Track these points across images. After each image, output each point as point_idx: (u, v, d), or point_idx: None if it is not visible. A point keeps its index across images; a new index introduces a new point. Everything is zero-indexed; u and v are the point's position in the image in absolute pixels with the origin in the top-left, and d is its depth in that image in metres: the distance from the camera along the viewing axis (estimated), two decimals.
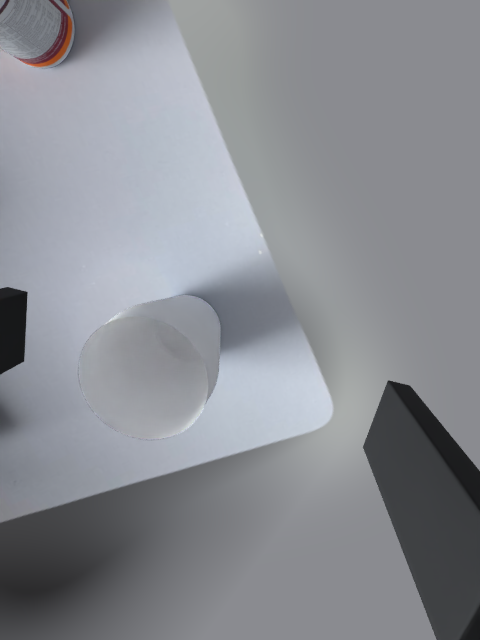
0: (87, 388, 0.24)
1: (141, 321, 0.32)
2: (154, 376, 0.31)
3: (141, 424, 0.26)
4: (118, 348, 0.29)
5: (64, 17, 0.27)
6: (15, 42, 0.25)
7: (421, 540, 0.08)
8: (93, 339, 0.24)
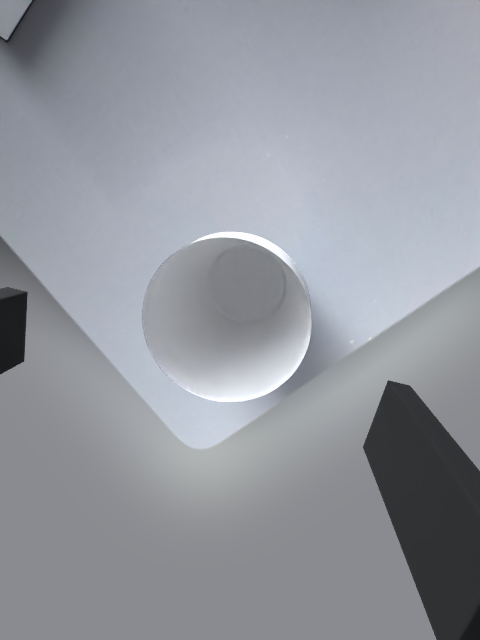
0: (183, 248, 0.18)
1: (248, 241, 0.26)
2: (189, 278, 0.25)
3: (152, 316, 0.20)
4: (220, 238, 0.22)
5: None
6: None
7: (421, 541, 0.08)
8: (250, 237, 0.18)
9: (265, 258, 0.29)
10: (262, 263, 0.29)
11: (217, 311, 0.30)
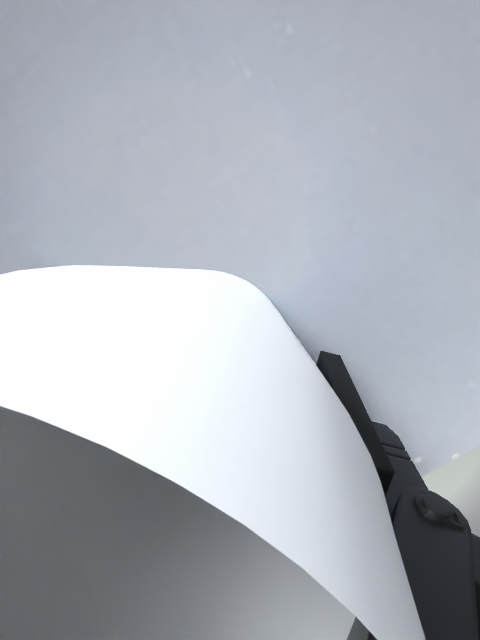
0: None
1: None
2: None
3: None
4: None
5: None
6: None
7: None
8: (101, 316, 0.03)
9: None
10: None
11: None
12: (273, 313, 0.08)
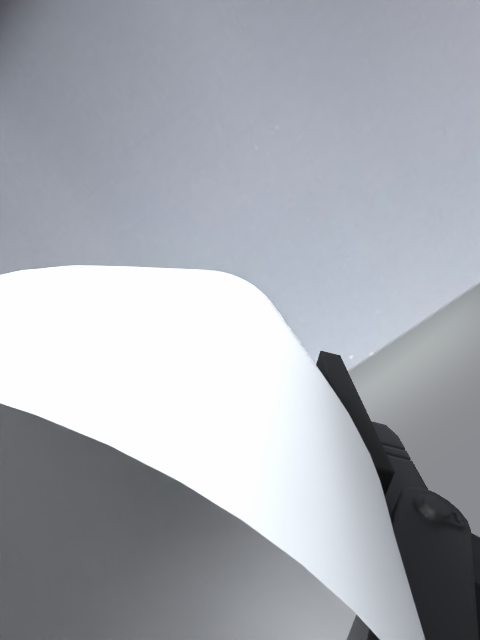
0: None
1: None
2: None
3: None
4: None
5: None
6: None
7: None
8: (102, 316, 0.03)
9: None
10: None
11: None
12: (273, 313, 0.08)
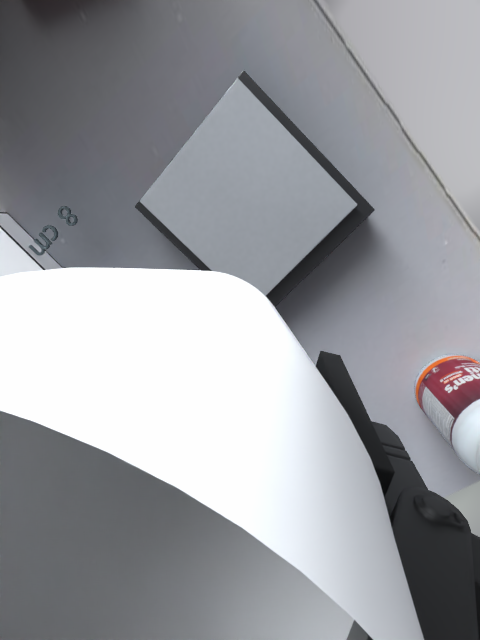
0: None
1: None
2: None
3: None
4: None
5: None
6: (436, 427, 0.27)
7: None
8: (101, 319, 0.03)
9: None
10: None
11: None
12: (273, 314, 0.08)
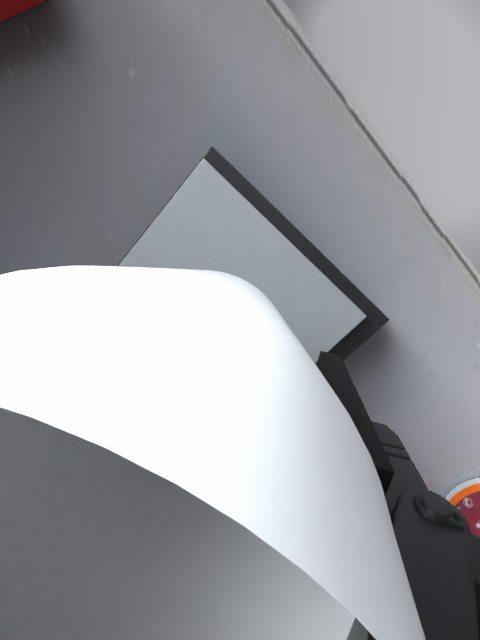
0: None
1: None
2: None
3: None
4: None
5: None
6: None
7: None
8: (101, 317, 0.03)
9: None
10: None
11: None
12: (273, 313, 0.08)
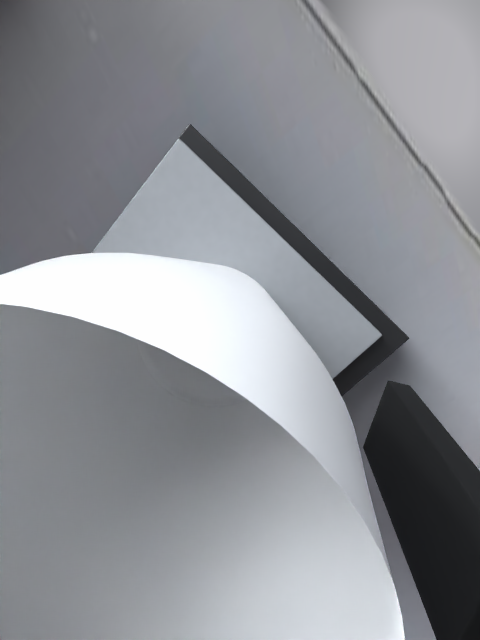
0: None
1: None
2: (76, 343, 0.12)
3: None
4: None
5: None
6: None
7: (421, 540, 0.08)
8: (141, 284, 0.04)
9: None
10: None
11: (158, 383, 0.16)
12: (268, 297, 0.09)
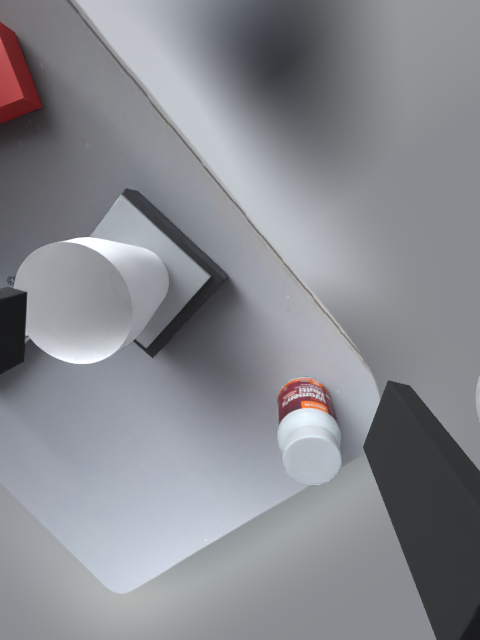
0: (41, 249, 0.24)
1: None
2: (79, 273, 0.32)
3: (30, 300, 0.27)
4: None
5: None
6: None
7: (421, 540, 0.08)
8: (91, 242, 0.25)
9: None
10: None
11: (115, 300, 0.37)
12: (139, 253, 0.29)
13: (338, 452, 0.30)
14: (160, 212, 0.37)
